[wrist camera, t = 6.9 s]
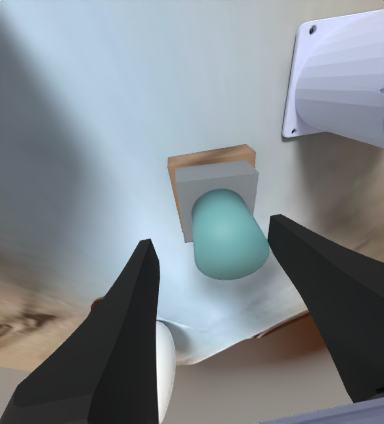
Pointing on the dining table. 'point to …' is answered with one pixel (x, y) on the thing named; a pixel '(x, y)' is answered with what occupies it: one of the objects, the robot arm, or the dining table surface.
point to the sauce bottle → (164, 367)
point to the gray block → (213, 186)
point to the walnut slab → (208, 162)
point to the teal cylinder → (226, 236)
